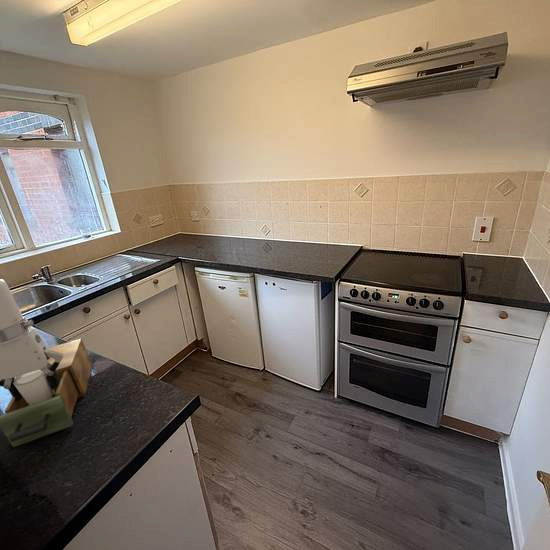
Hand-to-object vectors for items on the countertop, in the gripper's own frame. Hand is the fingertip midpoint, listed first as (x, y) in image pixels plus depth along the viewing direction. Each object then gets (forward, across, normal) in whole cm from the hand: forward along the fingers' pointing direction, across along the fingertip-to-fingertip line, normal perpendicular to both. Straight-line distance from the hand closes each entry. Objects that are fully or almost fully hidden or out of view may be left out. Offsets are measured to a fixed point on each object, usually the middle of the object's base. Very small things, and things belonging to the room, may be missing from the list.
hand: (38, 390), depth 75 cm
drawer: (+8, 0, +2) cm, 8 cm away
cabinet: (+9, 0, -13) cm, 16 cm away
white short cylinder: (+2, 0, 0) cm, 2 cm away
